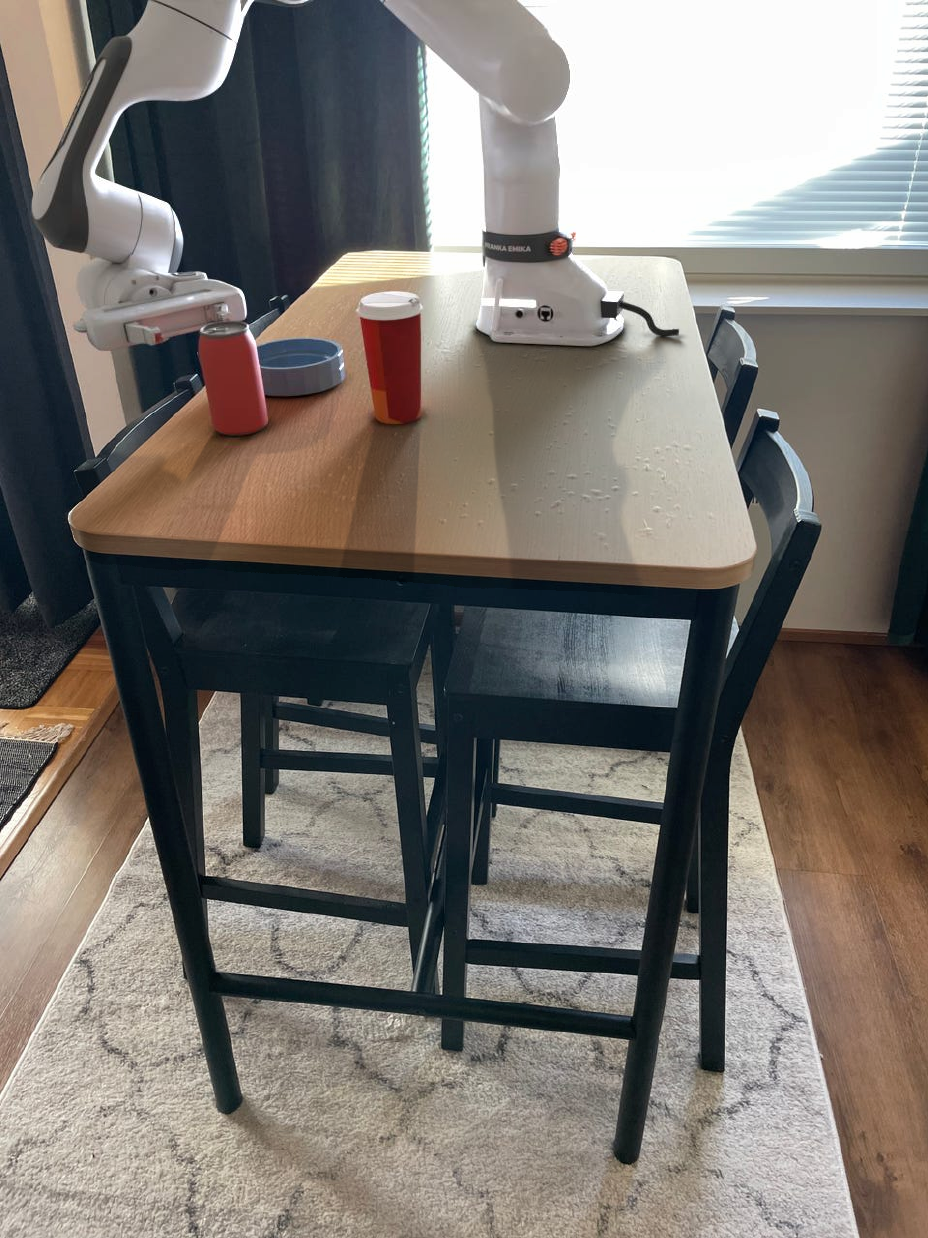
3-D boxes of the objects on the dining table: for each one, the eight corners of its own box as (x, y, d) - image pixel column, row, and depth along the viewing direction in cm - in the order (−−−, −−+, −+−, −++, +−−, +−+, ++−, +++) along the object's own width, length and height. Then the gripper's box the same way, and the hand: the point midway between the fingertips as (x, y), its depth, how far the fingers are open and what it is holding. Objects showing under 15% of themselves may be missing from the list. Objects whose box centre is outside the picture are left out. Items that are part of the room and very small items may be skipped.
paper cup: (438, 407, 115) (432, 291, 107) (415, 430, 109) (407, 309, 101) (380, 401, 117) (370, 288, 110) (355, 424, 111) (343, 305, 104)
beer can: (217, 419, 114) (198, 321, 107) (271, 415, 115) (255, 317, 108) (210, 439, 109) (190, 337, 102) (266, 436, 109) (250, 334, 102)
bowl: (363, 371, 127) (360, 342, 125) (310, 404, 117) (306, 373, 115) (283, 361, 132) (279, 333, 130) (226, 391, 122) (221, 362, 120)
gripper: (60, 298, 114) (103, 320, 105) (212, 268, 124) (262, 286, 115) (74, 349, 117) (116, 374, 108) (220, 316, 128) (270, 337, 119)
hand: (193, 329), depth 112 cm, fingers open, 8 cm apart
